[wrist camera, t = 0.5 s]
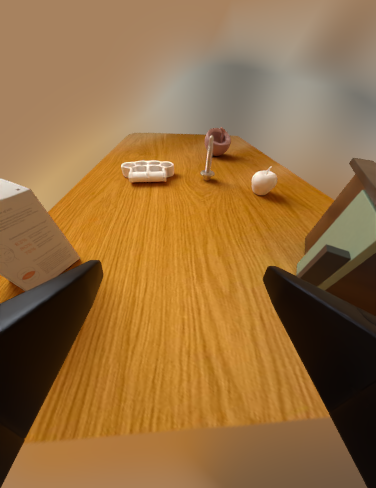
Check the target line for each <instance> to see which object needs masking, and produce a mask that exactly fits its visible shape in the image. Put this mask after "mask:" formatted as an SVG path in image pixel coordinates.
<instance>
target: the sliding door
mask: <svg viewBox="0 0 376 488" xmlns="http://www.w3.org/2000/svg"><path fill="white" fill-rule="evenodd" d="M375 253H376V206H375V205H374V203H373V202H372V200H371V198H370V197H369V195H368V193H367V192H366V190H362V191H361V192H360V193H359V194H358V195H357V196H356V197H355V199H354V200H353V201H352V202H351V203H350V204H349V205H348V207H347V208H346V209H345V210H344V211H343V212H342V213H341V215H340V216H339V217H338V218H337V219H336V220H335V221H334V223H333V224H332V225H331V226H330V227H329V228H328V229H327V231H326V232H325V233H324V234H323V235H322V236H321V237H320V239H319V240H318V241H317V242H316V243H315V244H314V245H313V247H312V248H311V249H310V250H309V251H308V252H307V253H306V255H305V256H304V257H303V258H302V259H301V260H300V261H299V263H298V264H297V275H296V276H297V277H299V278H301V279H302V280H304V281H306V282H308V283H310V284H312V285H314V286H316V287H318V288H320V289H322V290H324V291H325V290H326V289H327V288H329V287H330V286H331V285H333V284H334V283H336V282H337V281H338V280H340V279H341V278H342V277H344V276H345V275H346V274H348V273H349V272H350V271H352V270H353V269H354V268H356V267H357V266H358V265H360V264H361V263H362V262H364V261H365V260H366V259H368V258H369V257H371V256H372V255H373V254H375Z"/></svg>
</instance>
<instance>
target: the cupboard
mask: <svg viewBox="0 0 376 488" xmlns="http://www.w3.org/2000/svg"><path fill="white" fill-rule="evenodd" d="M349 164H350V165H351V167H352V169H353V171H354V172H355V175H354V177H353V178H352V179H351V180H350V182H349V183H348V184H347V186H346V187H345V188H344V189H343V191H342V192H341V193H340V194H339V196H338V197H337V198H336V200H335V201H334V202H333V203H332V205H331V206H330V207H329V209H328V210H327V211H326V212H325V214H324V215H323V216H322V217H321V219H320V220H319V221H318V223H317V224H316V225H315V226H314V228H313V229H312V230H311V231H310V233H309V234H308V235H307V237H306V238H305V255H306V253H307V252H308V251H309V250H310V249H311V248H312V247H313V245H314V244H315V243H316V242H317V241H318V240H319V239H320V237H321V236H322V235H323V234H324V233H325V232H326V231H327V229H328V228H329V227H330V226H331V225H332V224H333V223H334V221H335V220H336V219H337V218H338V217H339V216H340V215H341V213H342V212H343V211H344V210H345V209H346V208H347V207H348V205H349V204H350V203H351V202H352V201H353V200H354V199H355V197H356V196H357V195H358V194H359V193H360V192H361V191H362V190H366V192H367V193H368V195H369V197H370V198H371V200H372V202H373V203H374V205H375V206H376V163H375V162H374V161H370V160H364V159H358V158H353V159H352V160H351V161H350V163H349ZM325 291H326V292H328V293H330V294H332V295H334V296H336V297H338V298H340V299H342V300H344V301H346V302H348V303H350V304H352V305H354V306H355V307H358V308H360V309H362V310H364V311H366V312H368V313H370V314H372V315H374V316H376V253H375V254H373V255H372V256H371V257H369V258H368V259H366V260H365V261H364V262H362V263H361V264H360V265H358V266H357V267H356V268H354V269H353V270H352V271H350V272H349V273H348V274H346V275H345V276H344V277H342V278H341V279H340V280H338V281H337V282H336V283H334V284H333V285H331V286H330V287H329V288H327V289H326V290H325Z"/></svg>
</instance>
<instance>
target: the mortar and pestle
mask: <svg viewBox="0 0 376 488" xmlns="http://www.w3.org/2000/svg"><path fill="white" fill-rule="evenodd" d="M210 136H213V137H214V141H213V151H212V152H213V153H212V154H213V155H214V156H219V155H222V154H224V153H225V152H226V151H227V150H228V148H229V146H230V143H231V138H230V136H229V134H228V133H227V132H226V131H225V130H224V129H223V128H222V127H221V128H220V129H219V128H213V129H210V130H209V131H208V132H207V135H206V137H205V147H206V149H207V151H208V146H209V145H208V144H209V139H210Z"/></svg>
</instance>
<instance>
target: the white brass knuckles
mask: <svg viewBox="0 0 376 488" xmlns="http://www.w3.org/2000/svg"><path fill="white" fill-rule="evenodd" d="M121 168H122V172H123V175H124V177H127V178H129V182H131V183H134V182H160V181H164V182H166V177H170V176H173V175H174V164H173V163H171V162H160V161H137V162H126V163H123V164H122V165H121Z"/></svg>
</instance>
